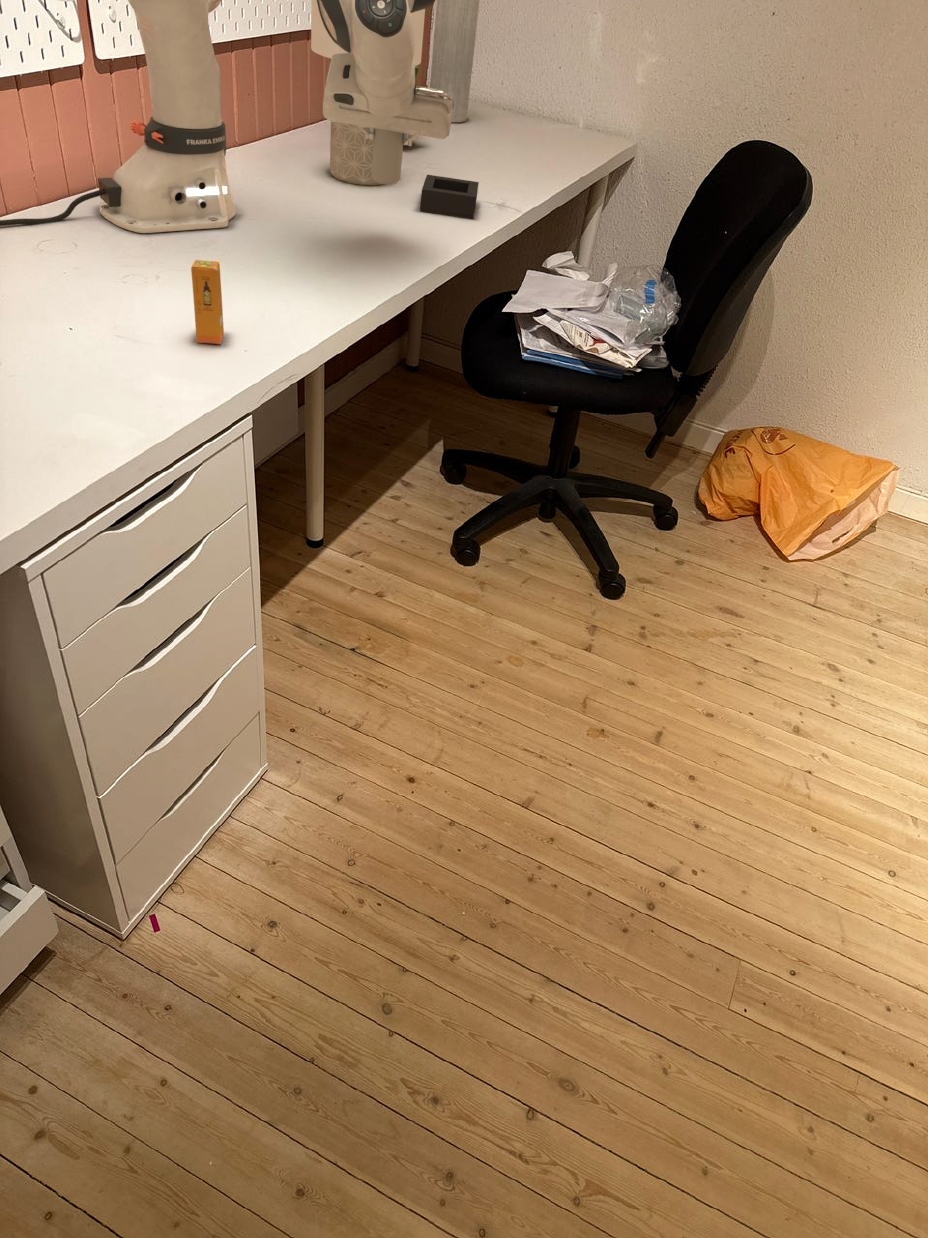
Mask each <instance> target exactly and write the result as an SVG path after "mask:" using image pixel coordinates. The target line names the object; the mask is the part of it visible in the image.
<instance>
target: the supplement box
mask: <svg viewBox="0 0 928 1238" xmlns="http://www.w3.org/2000/svg"><path fill="white" fill-rule="evenodd" d="M190 272H191V282H192V295H193V309H194V324H195V340H196V343H198V344H199V343H201V344H213V345H214V344H215V345H222V342H223V339H224V336H225V330H224V329H225V328H224V313H223V311H224V309H223V295H222V279H221V277H222V276H221V266H220V261H217V260H202V259H194V261H193V263H192V265H191V267H190Z"/></svg>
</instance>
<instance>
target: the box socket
mask: <svg viewBox="0 0 928 1238" xmlns="http://www.w3.org/2000/svg"><path fill="white" fill-rule="evenodd" d="M478 190H479V181H473V180H466V179H460V178H453V177H447V176H441V175H433V174H426V177H425V179H424V182H423V185H422V188H421V195H420V208H419V212H422V213H429V214H434V215H435V214H436V215H442V216H450V217H457V218H462V219H470V220H474V217H475V212H476V205H477V200H478Z"/></svg>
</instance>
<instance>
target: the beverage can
mask: <svg viewBox="0 0 928 1238" xmlns="http://www.w3.org/2000/svg"><path fill="white" fill-rule="evenodd" d="M403 135H404V134H403V133H400V132H394V131H388V130H382V129H376V128H375V130H374V146H373V162H372V177H373V179H374V180H375V181H376V182H379V183H382V184H381V185H396V184H398V183H399V182H400V180H401V173H402V163H403V150H404V145H403V142H402V139H403Z"/></svg>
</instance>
